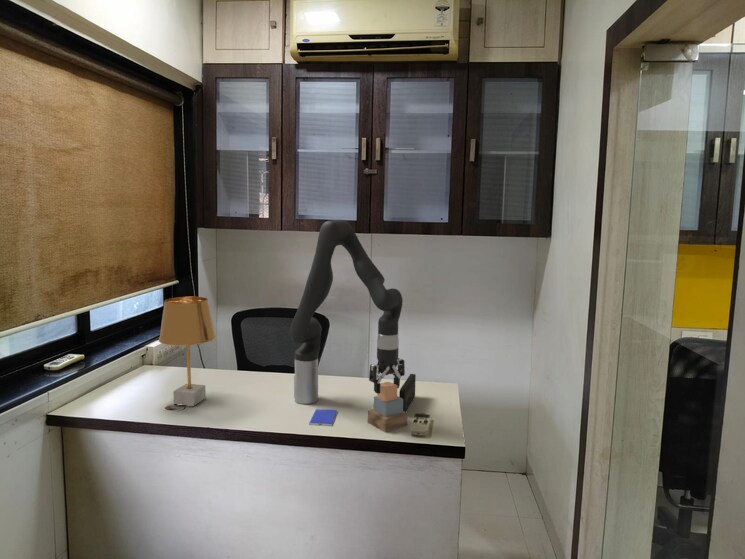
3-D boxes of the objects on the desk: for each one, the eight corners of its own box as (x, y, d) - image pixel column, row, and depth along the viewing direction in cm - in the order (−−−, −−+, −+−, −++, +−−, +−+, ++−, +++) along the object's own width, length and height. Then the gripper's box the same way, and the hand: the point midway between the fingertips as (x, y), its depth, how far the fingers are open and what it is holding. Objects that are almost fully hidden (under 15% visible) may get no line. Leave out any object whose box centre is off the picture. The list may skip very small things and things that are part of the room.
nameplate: (403, 416, 191) (404, 390, 190) (398, 415, 192) (399, 390, 191) (415, 397, 211) (415, 373, 210) (410, 396, 212) (411, 373, 211)
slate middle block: (373, 409, 185) (373, 396, 184) (390, 405, 189) (391, 392, 188) (385, 417, 179) (385, 403, 178) (403, 412, 183) (403, 399, 182)
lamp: (181, 390, 215) (177, 294, 209) (227, 394, 210) (224, 296, 205) (149, 409, 194) (145, 303, 189) (200, 414, 190) (196, 306, 185)
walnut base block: (367, 423, 185) (367, 410, 184) (388, 417, 191) (389, 404, 190) (385, 433, 177) (385, 419, 177) (406, 426, 183) (407, 412, 183)
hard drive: (315, 408, 195) (309, 422, 182) (337, 409, 194) (331, 423, 182) (315, 412, 195) (309, 426, 183) (337, 413, 194) (331, 427, 182)
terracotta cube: (377, 397, 183) (377, 384, 182) (387, 394, 186) (388, 381, 185) (386, 402, 179) (386, 388, 178) (397, 398, 182) (397, 385, 182)
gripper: (396, 340, 187) (395, 383, 189) (365, 346, 178) (364, 391, 181) (410, 345, 181) (409, 389, 183) (378, 351, 172) (377, 398, 175)
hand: (386, 390), depth 182 cm, fingers open, 8 cm apart
